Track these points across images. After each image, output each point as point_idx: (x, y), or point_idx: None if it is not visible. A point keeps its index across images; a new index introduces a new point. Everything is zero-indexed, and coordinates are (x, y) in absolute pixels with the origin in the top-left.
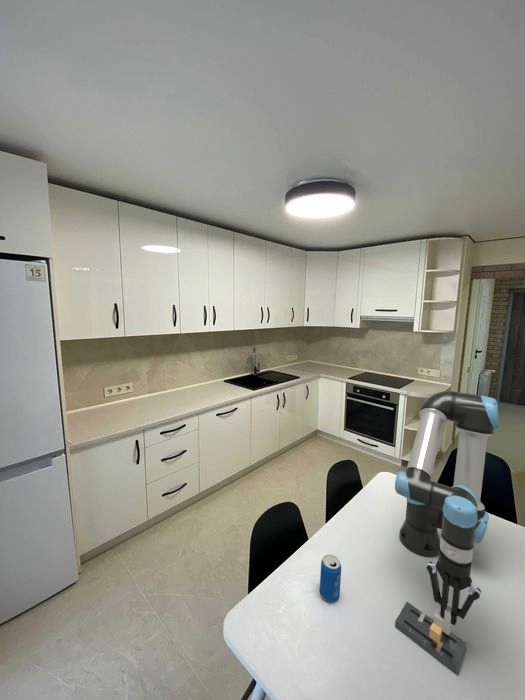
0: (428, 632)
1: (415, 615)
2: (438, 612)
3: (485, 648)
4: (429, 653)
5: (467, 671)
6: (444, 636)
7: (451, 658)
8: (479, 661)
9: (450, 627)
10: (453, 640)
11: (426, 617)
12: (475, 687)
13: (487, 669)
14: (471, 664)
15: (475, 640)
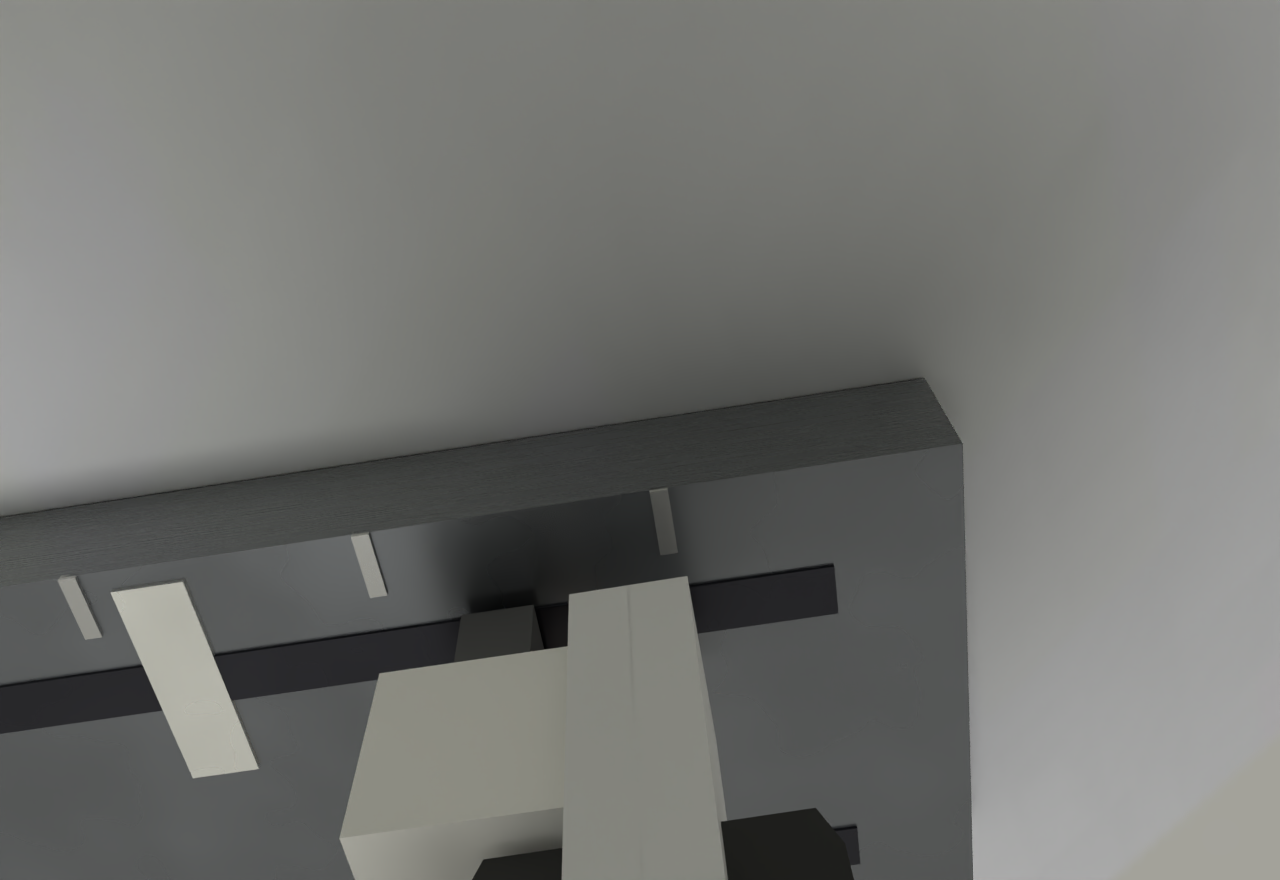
0: None
1: (103, 732)
2: (409, 867)
3: (1201, 15)
4: None
5: (1026, 678)
6: None
7: (856, 873)
8: (1142, 388)
9: (712, 743)
10: (772, 606)
11: (229, 603)
12: (1148, 771)
13: (1263, 408)
14: (1049, 541)
15: (1012, 13)
